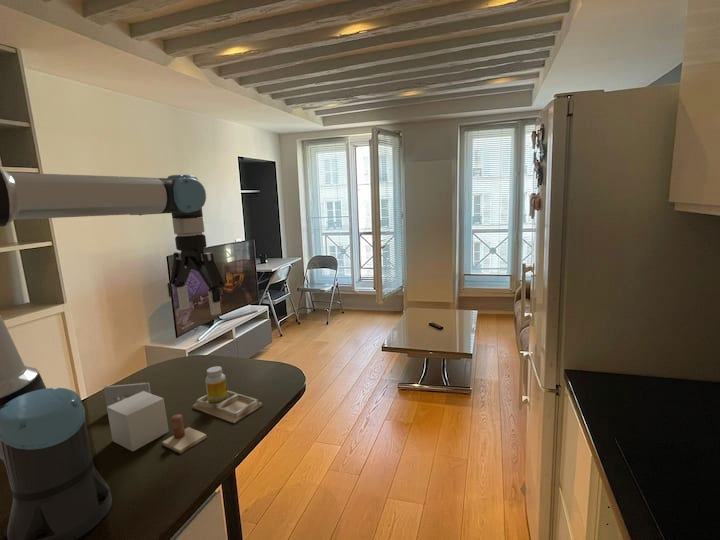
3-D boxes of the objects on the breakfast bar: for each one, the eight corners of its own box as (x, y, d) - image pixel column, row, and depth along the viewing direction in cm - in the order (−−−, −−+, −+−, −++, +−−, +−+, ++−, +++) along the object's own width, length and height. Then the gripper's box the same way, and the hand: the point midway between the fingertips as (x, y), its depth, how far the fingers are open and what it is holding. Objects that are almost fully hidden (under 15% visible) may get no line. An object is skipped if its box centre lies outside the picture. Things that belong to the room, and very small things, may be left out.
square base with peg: (180, 453, 90) (177, 430, 89) (162, 445, 94) (159, 422, 93) (206, 437, 96) (203, 415, 95) (189, 430, 100) (186, 408, 99)
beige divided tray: (234, 423, 102) (233, 416, 101) (193, 408, 111) (192, 401, 111) (262, 405, 110) (262, 398, 110) (222, 392, 119) (221, 386, 119)
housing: (132, 451, 92) (126, 415, 91) (112, 441, 97) (106, 406, 95) (168, 431, 100) (163, 398, 98) (148, 422, 104) (143, 390, 103)
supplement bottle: (205, 401, 113) (201, 369, 111) (223, 394, 116) (220, 363, 114) (212, 407, 109) (207, 375, 107) (231, 400, 112) (227, 368, 110)
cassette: (154, 406, 113) (150, 381, 112) (151, 410, 111) (147, 384, 110) (110, 410, 112) (105, 385, 111) (106, 414, 110) (102, 388, 109)
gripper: (232, 232, 103) (241, 312, 106) (175, 233, 116) (184, 303, 119) (208, 235, 96) (218, 320, 100) (150, 236, 110) (161, 310, 113)
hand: (200, 311), depth 110 cm, fingers open, 13 cm apart
